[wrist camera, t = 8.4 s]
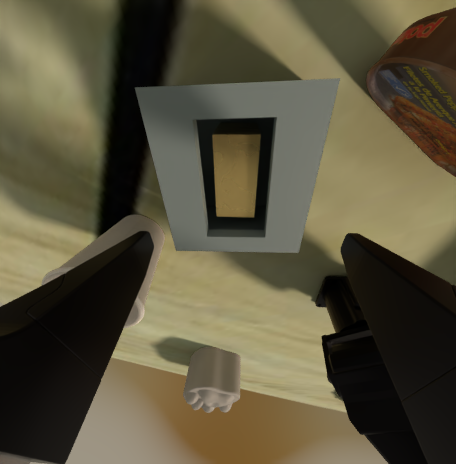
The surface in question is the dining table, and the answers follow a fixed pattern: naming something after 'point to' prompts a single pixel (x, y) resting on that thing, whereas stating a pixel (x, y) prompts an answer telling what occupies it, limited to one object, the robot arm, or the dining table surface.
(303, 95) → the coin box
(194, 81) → the dining table surface
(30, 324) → the robot arm
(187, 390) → the lumpy-topped squat cylinder
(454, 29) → the tin
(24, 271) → the dining table surface
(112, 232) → the dixie cup
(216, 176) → the tan rectangular block
